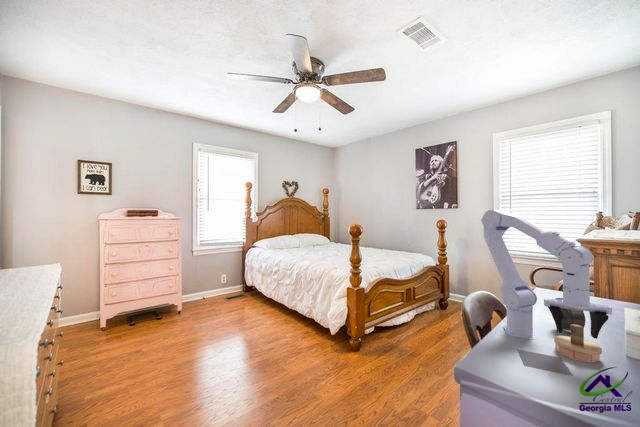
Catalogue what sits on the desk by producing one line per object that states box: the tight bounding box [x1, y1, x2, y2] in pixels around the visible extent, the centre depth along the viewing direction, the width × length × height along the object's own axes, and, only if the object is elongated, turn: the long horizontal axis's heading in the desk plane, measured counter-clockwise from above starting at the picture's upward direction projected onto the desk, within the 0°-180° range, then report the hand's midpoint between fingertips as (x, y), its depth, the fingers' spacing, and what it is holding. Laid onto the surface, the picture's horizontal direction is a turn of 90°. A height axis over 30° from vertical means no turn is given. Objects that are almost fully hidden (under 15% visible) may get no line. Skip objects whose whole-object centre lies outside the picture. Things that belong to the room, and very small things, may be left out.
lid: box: [553, 324, 603, 355], centre depth 78 cm, size 10×10×6 cm
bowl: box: [554, 342, 601, 363], centre depth 79 cm, size 9×9×3 cm
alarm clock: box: [552, 287, 586, 332], centre depth 95 cm, size 11×5×16 cm, turn 168°
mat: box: [516, 348, 574, 377], centre depth 74 cm, size 10×10×1 cm
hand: (576, 334), depth 79 cm, fingers open, 7 cm apart
